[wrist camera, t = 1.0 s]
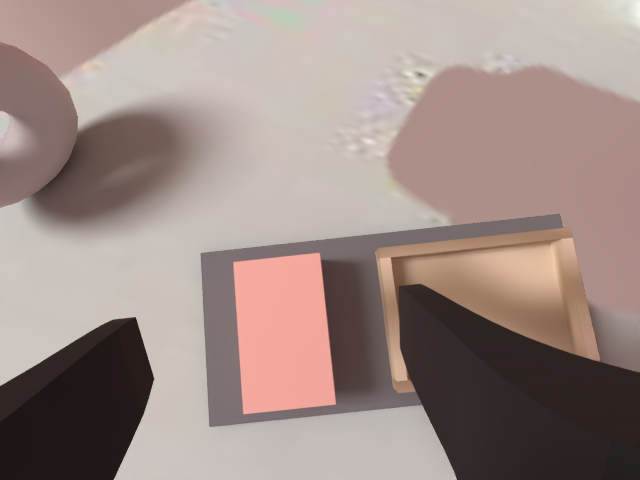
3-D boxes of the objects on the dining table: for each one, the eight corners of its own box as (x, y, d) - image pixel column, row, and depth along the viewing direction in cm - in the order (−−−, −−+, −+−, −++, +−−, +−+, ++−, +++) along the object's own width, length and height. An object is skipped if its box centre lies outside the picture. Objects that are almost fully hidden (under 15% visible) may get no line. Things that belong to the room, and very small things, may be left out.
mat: (590, 384, 22) (598, 386, 21) (212, 423, 22) (209, 426, 22) (554, 216, 24) (559, 213, 23) (203, 254, 24) (200, 253, 23)
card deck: (335, 391, 22) (335, 404, 19) (255, 399, 22) (243, 414, 19) (321, 259, 23) (319, 252, 20) (245, 267, 23) (233, 262, 20)
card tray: (583, 367, 22) (602, 371, 20) (393, 387, 22) (398, 393, 20) (553, 232, 23) (570, 227, 21) (375, 252, 23) (378, 248, 21)
